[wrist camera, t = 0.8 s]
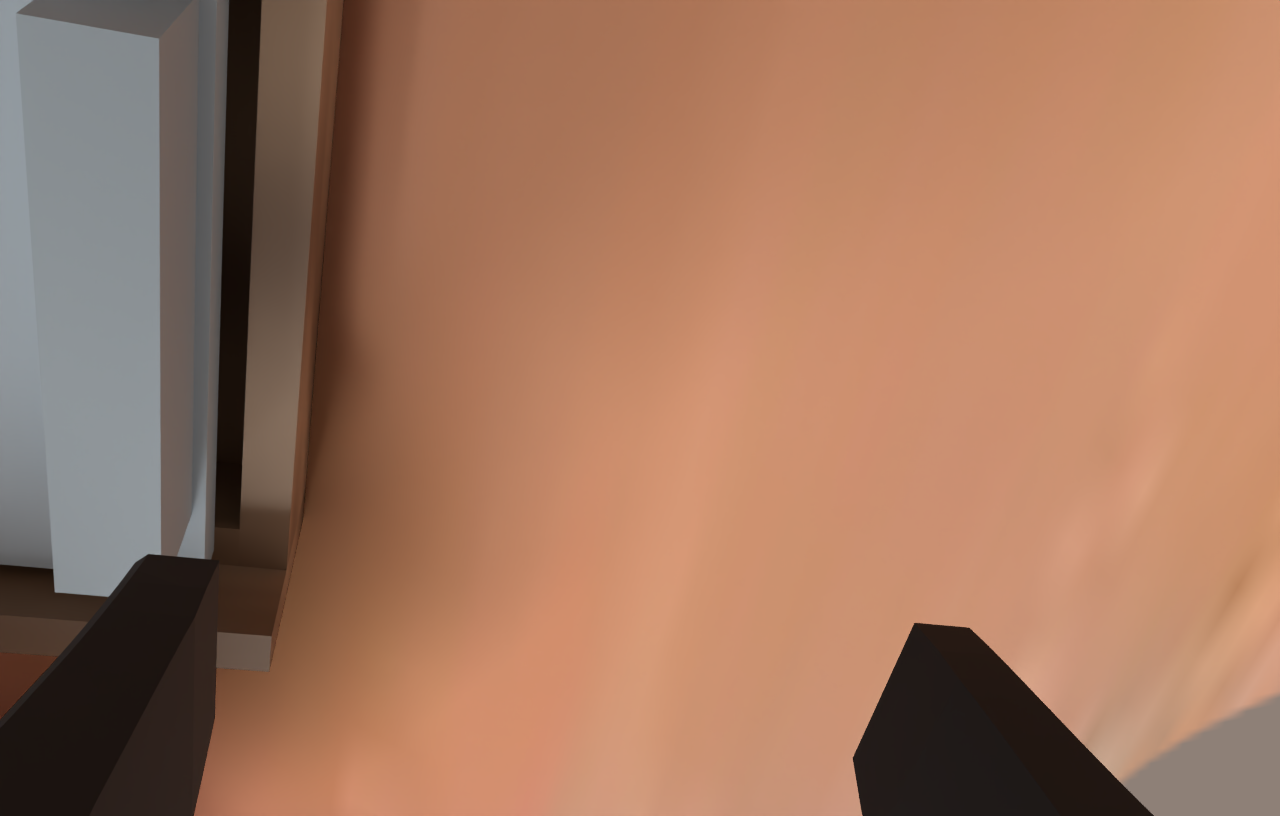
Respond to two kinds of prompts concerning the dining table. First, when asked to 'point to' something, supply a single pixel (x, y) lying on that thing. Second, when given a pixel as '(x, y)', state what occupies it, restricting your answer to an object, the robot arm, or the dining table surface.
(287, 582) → the case
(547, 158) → the dining table surface
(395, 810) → the dining table surface
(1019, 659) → the dining table surface
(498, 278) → the dining table surface
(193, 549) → the cover plate
